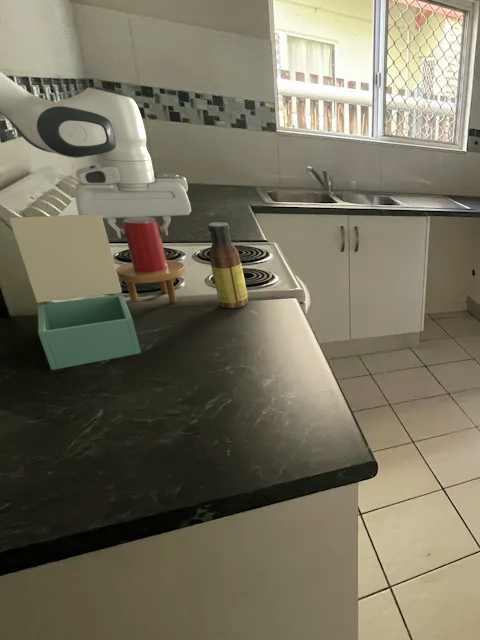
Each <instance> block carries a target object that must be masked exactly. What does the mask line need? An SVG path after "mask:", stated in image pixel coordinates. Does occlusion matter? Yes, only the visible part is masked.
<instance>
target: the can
mask: <svg viewBox="0 0 480 640" xmlns="http://www.w3.org/2000/svg"><path fill="white" fill-rule="evenodd" d="M121 222H122V225H123V229H124V230H125V233H126V237H127V238H125V239H126V243H127V246H128V251H129V254H130V259H131V263H132V264H133V268H134V270H136V271H142V272H150V271H158V270H162V269H165V268H167V263H166V260H167V259H166V254H165V248H164V244H163V240H162V236H161V235H160V230H159V227H160V226H159V220H158V219H157V218H155V217H129V218H123V219H122V220H121Z"/></svg>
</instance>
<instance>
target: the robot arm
mask: <svg viewBox="0 0 480 640" xmlns="http://www.w3.org/2000/svg"><path fill="white" fill-rule="evenodd" d="M0 114H1V115H2V116H3V117H5V119H7V121H9V123H10V124H11V125H12V127H13V128H14V129H15V130H16V132H17V133H18V134H19V135H20V136H21V137H22V139H24V140H25V141H26V142H27V143H28V144H30V145H31V146H33V147H35V148H36V149H38V150H41V151H43V152H47V153H51V154H57V155H59V156H63V157H66V158H74V159H76V158H77V159H81V158H86V157H91V156H96V155H98V160H99V163H96V164H92V165H89V166H85V167H81V168H78V169H76V171H75V177H76V180H77V181H78V182H77V183H76V185H75V188H74V191H75V192H74V194H75V203H76V208H77V212H78V215H92V214H101V216H102V219H106V221H107V223H108V224H109V226H110V227H111V228H112V229H113V230H114V231H116V235H117V238H118V239H126V238H127V237H126V233H125V230H124V228H119V226H117V224H116V223H117V219H126V218H132V217H151V218H154V217H161V219H162V220H163V224H162V225H161V226H159V230H160V235H161V237H162V236H163V237H164V236H169V231H168V228H169V226H170V224H171V221H172V218H171V217H174V216H189V215H190V214H191V212H192V207H191V202H190V200H189V196H188V191H189V184H188V181H187V179H186V178H185V176H182V175H180V174H178V172H177V173H176V172H170V173H164V172H154V168H153V163H152V162H153V161H152V158H151V155H150V154H149V152H148V148H147V132H146V129H145V125H144V122H143V119H142V115H141V112H140V109H139V107H138V105H137V102H136V101H135V100H134V99H133V98H132V97H131V96H130V95H127V94H126V93H122V92H119V91H116V90H112V89H107V88H102V87H98V86H89V87H86V89H84V90H83V91H82V92H80V93H78V94H76V95H74V96H71V97H69V98H66V99H62V100H59V101H56V102H55V101H52V100H49V99H46V98H43V97H40V96H37V95H35V94H33V93H31V92H29V91H28V90H26V89H24V88H23V87H22V86H21V85H19V84H17V82H15V81H13V80H12V79H11V78H10V77H8V76H7V75H5V74H4V73H2V72H1V71H0Z"/></svg>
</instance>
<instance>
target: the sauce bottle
mask: <svg viewBox="0 0 480 640" xmlns="http://www.w3.org/2000/svg"><path fill="white" fill-rule="evenodd" d="M207 228H208V231H209V234H210V238H211V246H210V249H209V252H208V255H209V262H210V268H211V273H212V276H213V282H214V287H215V289H216V295H217V299H218V301H219V304H220V307H222V308H224V309H239V308H243V307H245V306H247V305H248V302H249V301H248V291H247V286H246V280H245V275H244V271H243V266H242V262H241V259H240V253H239V249H238V248H236V245H234V244H233V242H232V239H231V236H230V226H229V223H228V222H220V221H215V222H210V223H208V224H207Z"/></svg>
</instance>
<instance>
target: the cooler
mask: <svg viewBox="0 0 480 640" xmlns="http://www.w3.org/2000/svg"><path fill="white" fill-rule="evenodd" d="M37 332H38V333H37V334H38V337H39V339H40V342H41V345H42V348H43V351H44V354H45V356H46V360H47V363H48V365H49V368H50V370H51V371H53V370H60V369H65V368H70V367H75V366H81V365H85V364H91V363H96V362H97V363H98V362H102V361H106V360H112V359H118V358H123V357H128V356H132V355H138V354H139V355H140V354H141V353H142V352H141V348H140V344H139V339H138V336H137V332H136V329H135V324H134V320H133V318H132V315H131V312H130V310H129V307H128V305H127V303H126V300H125V297H124V294H122V293H121V294H112V295H106V296H105V295H104V296H99V297H98V296H96V297H90V298H89V297H88V298H82V299H72V300H66V301H65V300H64V301H58V302H48V303H41V304H38V305H37Z"/></svg>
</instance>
